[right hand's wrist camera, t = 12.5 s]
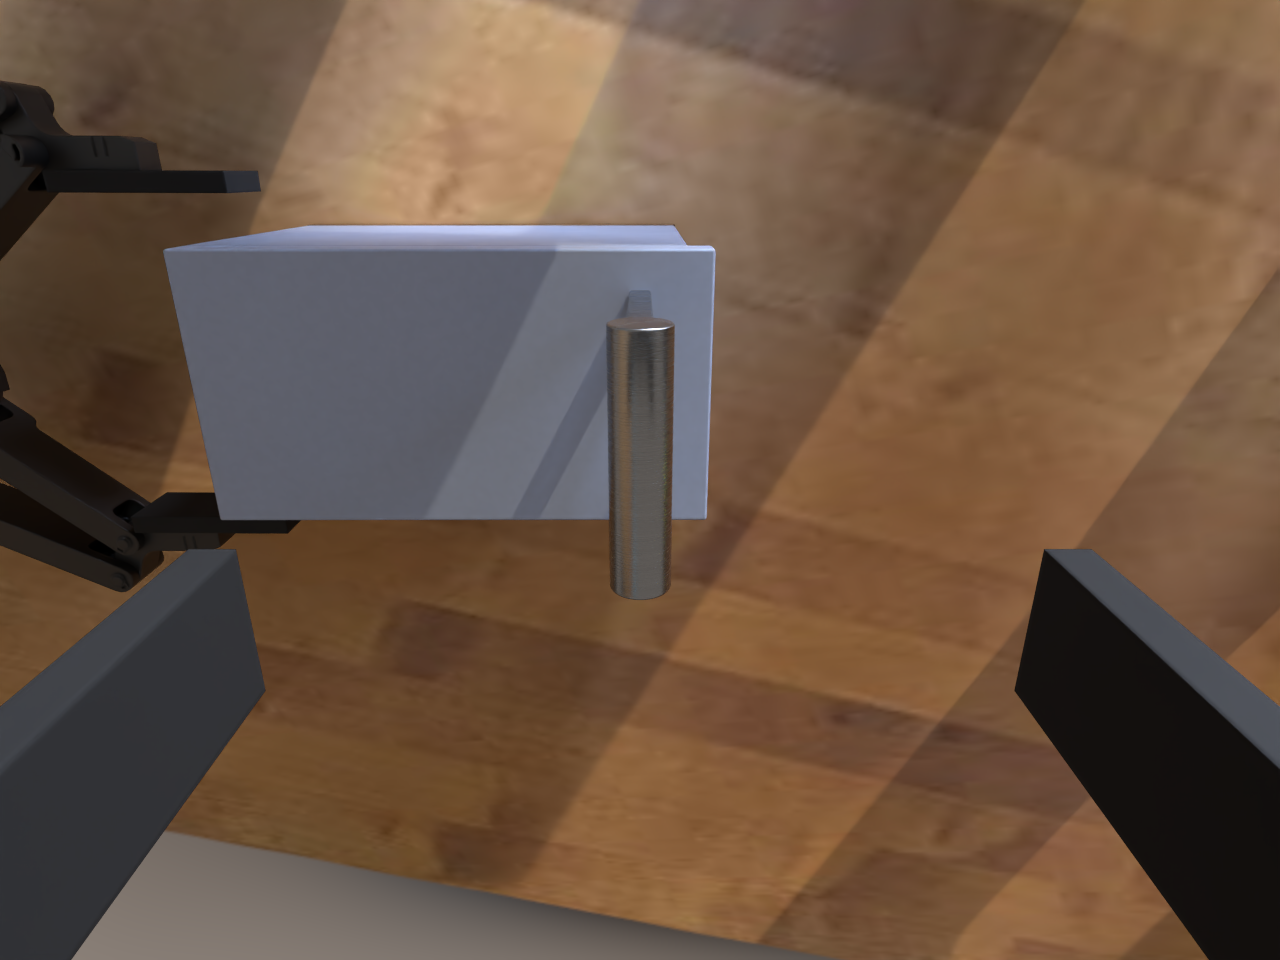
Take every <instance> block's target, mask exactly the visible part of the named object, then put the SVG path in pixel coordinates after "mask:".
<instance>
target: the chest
mask: <svg viewBox="0 0 1280 960" xmlns="http://www.w3.org/2000/svg"><path fill="white" fill-rule="evenodd" d="M187 246H687V245H686V243H685V242H684V240H683V239H682V237H681V235H680V234H679V232H678V231H677V229H676V228H675V225H674V224H312V225H307V226H303V227H297V228H290V229H284V230H278V231H272V232H266V233H260V234H253V235H247V236H241V237H235V238H229V239H222V240H216V241H210V242H204V243H198V244H192V245H187Z"/></svg>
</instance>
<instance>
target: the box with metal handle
mask: <svg viewBox="0 0 1280 960" xmlns="http://www.w3.org/2000/svg"><path fill="white" fill-rule="evenodd" d="M163 254H164V258H165V263H166V268H167V272H168V277H169V282H170V286H171V291H172V296H173V300H174V305H175V310H176V314H177V319H178V324H179V328H180V333H181V337H182V342H183V347H184V351H185V356H186V361H187V365H188V370H189V375H190V379H191V384H192V389H193V393H194V398H195V403H196V407H197V412H198V417H199V421H200V426H201V430H202V435H203V440H204V444H205V449H206V454H207V458H208V463H209V468H210V472H211V477H212V482H213V486H214V491H215V496H216V500H217V505H218V510H219V514H220V518H221V520H609V547H610V586H611V589H612V590H613V591H614V592H615V593H616V594H617V595H619V596H621V597H624V598H628V599H634V600H647V599H653V598H657V597H659V596H662V595H663V594H665V593H666V592H667V591H668V590H669V588H670V585H671V530H672V520H705V519H706V517H707V488H708V459H709V430H710V400H711V371H712V342H713V312H714V283H715V254H716V252H715V249H714V248H713V247H712V246H180V247H174V248H167V249H164V250H163Z"/></svg>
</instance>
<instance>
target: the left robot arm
mask: <svg viewBox="0 0 1280 960" xmlns="http://www.w3.org/2000/svg"><path fill="white" fill-rule="evenodd" d="M53 112H54V103H53V100H52V98H51V96H50V95H49V94H48V93H47V92H46V90H44V89H42V88H41V87H39V86H32V85H26V84H20V83H13V82H6V81H0V260H1V259H2V258H3V257H4V256H5V255H6V253H7V252H8V251H9V250H10V249H11V248H12V246H13V245H14V244H15V243H16V242H17V241H18V239H19V238H20V237H21V236H22V235H23V234H24V232H25V231H26V230H27V229H28V228H29V227H30V226H31V224H32V223H33V222H34V221H35V220H36V219H37V217H38V216H39V215H40V214H41V213H42V212H43V210H44V209H45V208H46V207H47V206H48V205H49V203H50V202H51V201H52V200H53V199H54V198H55V196H56V195H57V194H58V193H59V192H83V193H238V192H258V191H261V189H260V183H259V177H258V171H166V170H162V168H161V164H160V159H159V154H158V149H157V144H156V143H154V142H152V141H149V140H147V139H144V138H142V137H128V136H72V135H70V134H68V133H67V132H65V131H64V130H63V129H62V128H61V127H60V126H59V124H58V123H57V121H56V120H55V118H54V116H53ZM6 390H9V385H8V382H7V378H6V375H5V372H4V370H3V368H2V367H1V365H0V478H1V479H2V480H4V481H6V482H7V483H9V484H10V485H12V486H13V487H15V488H13V487H11V486H8V485H5V484H2V483H0V545H1V546H3V547H6V548H8V549H11V550H14V551H16V552H19V553H21V554H24V555H26V556H29V557H31V558H34V559H36V560H39V561H41V562H44V563H46V564H49V565H52V566H54V567H57V568H59V569H62V570H64V571H67V572H69V573H72V574H74V575H77V576H79V577H82V578H85V579H87V580H90V581H92V582H95V583H97V584H100V585H102V586H105V587H107V588H110V589H112V590H115V591H119V592H126V591H128V590H130V589H131V588H132V587H134V586H135V585H136V584H137V583H139V582H140V581H141V580H142V579H144V578H145V577H146V576H147V575H148V574H150V573H151V572H152V571H153V570H155V569H156V568H157V567H158V566H159V565H161V564H162V562H163V561H164V555H163V552H162V551H187V550H188V549H216V548H218V547H221V546H222V545H223V544H224V543H225V542H226V541H227V540H228V539H230V538H231V537H232V536H233V535H234V534H235V533H287V534H288V533H289V532H290V531H291V530H292V529H293V528H294V527H295V526H296V525H297V524H298V523H299V522H300V521H301V520H221V518H220V514H219V510H218V505H217V500H216V496H215V493H182V492H167V493H165V494H164V495H162V496H161V497H159V498H158V499H156V500H155V501H154V502H152V503H150V502H148V501H147V500H145V499H144V498H142V497H141V496H139V495H138V494H136V493H135V492H133V491H132V490H130V489H129V488H127V487H126V486H124V485H123V484H121V483H119V482H118V481H116V480H115V479H113V478H112V477H110V476H109V475H107V474H106V473H104V472H103V471H101V470H100V469H98V468H97V467H95V466H94V465H92V464H91V463H89V462H88V461H86V460H84V459H83V458H81V457H80V456H78V455H77V454H75V453H74V452H72V451H71V450H69V449H68V448H66V447H65V446H63V445H62V444H60V443H59V442H57V441H56V440H54V439H53V438H51V437H49V436H48V435H46V434H45V433H43V432H42V431H40V430H39V429H38V428H37V427H36V420H35V419H34V418H33V417H32V416H31V415H29V414H28V413H26V412H25V411H23V410H22V409H20V408H19V407H17V406H16V405H14V404H13V403H11V402H10V401H8V400H7V399H5V398H4V397H3V392H4V391H6ZM16 488H17V489H16Z"/></svg>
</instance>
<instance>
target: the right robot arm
mask: <svg viewBox="0 0 1280 960" xmlns="http://www.w3.org/2000/svg"><path fill="white" fill-rule="evenodd" d="M264 692H265V686H264V681H263V676H262V672H261V667H260V662H259V657H258V653H257V648H256V643H255V638H254V633H253V629H252V624H251V619H250V614H249V610H248V605H247V600H246V595H245V591H244V586H243V581H242V576H241V572H240V567H239V562H238V557H237V553H236V549H188V550H187V551H186V552H185V553H184V554H182V555H181V556H180V557H179V558H178V559H176V560H175V561H174V562H173V563H172V564H170V565H169V566H168V567H167V568H166V569H164V570H163V571H162V572H161V573H160V574H158V575H157V576H156V577H155V578H154V579H152V580H151V581H150V582H149V583H148V584H147V585H145V586H144V587H143V588H142V589H141V590H139V591H138V592H137V593H136V594H135V595H133V596H132V597H131V598H130V599H129V600H127V601H126V602H125V603H124V604H123V605H121V606H120V607H119V608H118V609H117V610H115V611H114V612H113V613H112V614H111V615H109V616H108V617H107V618H106V619H105V620H103V621H102V622H101V623H100V624H99V625H97V626H96V627H95V628H94V629H93V630H91V631H90V632H89V633H88V634H87V635H85V636H84V637H83V638H82V639H81V640H79V641H78V642H77V643H76V644H75V645H73V646H72V647H71V648H70V649H69V650H68V651H66V652H65V653H64V654H63V655H62V656H60V657H59V658H58V659H57V660H56V661H54V662H53V663H52V664H51V665H50V666H48V667H47V668H46V669H45V670H44V671H42V672H41V673H40V674H39V675H38V676H36V677H35V678H34V679H33V680H32V681H30V682H29V683H28V684H27V685H26V686H24V687H23V688H22V689H21V690H20V691H18V692H17V693H16V694H15V695H14V696H12V697H11V698H10V699H9V700H8V701H6V702H5V703H4V704H3V705H2V706H0V960H71V959H72V958H73V956H74V955H75V954H76V952H77V951H78V950H79V948H80V947H81V945H82V944H83V943H84V941H85V940H86V938H87V937H88V936H89V934H90V933H91V932H92V930H93V929H94V927H95V926H96V925H97V923H98V922H99V920H100V919H101V918H102V916H103V915H104V914H105V912H106V911H107V909H108V908H109V907H110V905H111V904H112V902H113V901H114V900H115V898H116V897H117V896H118V894H119V893H120V891H121V890H122V889H123V887H124V886H125V884H126V883H127V882H128V880H129V879H130V877H131V876H132V875H133V873H134V872H135V871H136V869H137V868H138V866H139V865H140V864H141V862H142V861H143V860H144V858H145V857H146V855H147V854H148V853H149V851H150V850H151V848H152V847H153V846H154V844H155V843H156V842H157V840H158V839H159V837H160V836H161V835H162V833H163V832H164V830H165V829H166V828H167V826H168V825H169V824H170V822H171V821H172V819H173V818H174V817H175V815H176V814H177V812H178V811H179V810H180V808H181V807H182V806H183V804H184V803H185V801H186V800H187V799H188V797H189V796H190V794H191V793H192V792H193V790H194V789H195V788H196V786H197V785H198V783H199V782H200V781H201V779H202V778H203V776H204V775H205V774H206V772H207V771H208V770H209V768H210V767H211V765H212V764H213V763H214V761H215V760H216V758H217V757H218V756H219V754H220V753H221V752H222V750H223V749H224V747H225V746H226V745H227V743H228V742H229V741H230V739H231V738H232V736H233V735H234V734H235V732H236V731H237V729H238V728H239V727H240V725H241V724H242V723H243V721H244V720H245V718H246V717H247V716H248V714H249V713H250V711H251V710H252V709H253V707H254V706H255V705H256V703H257V702H258V700H259V699H260V698H261V696H262V695H263V693H264ZM1015 692H1016V693H1017V695H1018V696H1019V698H1020V699H1021V700H1022V702H1023V703H1024V705H1025V706H1026V707H1027V709H1028V710H1029V711H1030V713H1031V714H1032V716H1033V717H1034V718H1035V720H1036V721H1037V723H1038V724H1039V725H1040V727H1041V728H1042V729H1043V731H1044V732H1045V734H1046V735H1047V736H1048V738H1049V739H1050V741H1051V742H1052V743H1053V745H1054V746H1055V747H1056V749H1057V750H1058V752H1059V753H1060V754H1061V756H1062V757H1063V759H1064V760H1065V761H1066V763H1067V764H1068V765H1069V767H1070V768H1071V770H1072V771H1073V772H1074V774H1075V775H1076V776H1077V778H1078V779H1079V781H1080V782H1081V783H1082V785H1083V786H1084V788H1085V789H1086V790H1087V792H1088V793H1089V794H1090V796H1091V797H1092V799H1093V800H1094V801H1095V803H1096V804H1097V806H1098V807H1099V808H1100V810H1101V811H1102V812H1103V814H1104V815H1105V817H1106V818H1107V819H1108V821H1109V822H1110V824H1111V825H1112V826H1113V828H1114V829H1115V830H1116V832H1117V833H1118V835H1119V836H1120V837H1121V839H1122V840H1123V842H1124V843H1125V844H1126V846H1127V847H1128V848H1129V850H1130V851H1131V853H1132V854H1133V855H1134V857H1135V858H1136V860H1137V861H1138V862H1139V864H1140V865H1141V866H1142V868H1143V869H1144V871H1145V872H1146V873H1147V875H1148V876H1149V878H1150V879H1151V880H1152V882H1153V883H1154V884H1155V886H1156V887H1157V889H1158V890H1159V891H1160V893H1161V894H1162V896H1163V897H1164V898H1165V900H1166V901H1167V902H1168V904H1169V905H1170V907H1171V908H1172V909H1173V911H1174V912H1175V914H1176V915H1177V916H1178V918H1179V919H1180V920H1181V922H1182V923H1183V925H1184V926H1185V927H1186V929H1187V930H1188V932H1189V933H1190V934H1191V936H1192V937H1193V938H1194V940H1195V941H1196V943H1197V944H1198V945H1199V947H1200V948H1201V950H1202V951H1203V952H1204V954H1205V955H1206V956H1207V958H1208V959H1209V960H1280V706H1278V705H1277V704H1276V703H1275V702H1274V701H1272V700H1271V699H1270V698H1269V697H1268V696H1266V695H1265V694H1264V693H1263V692H1262V691H1260V690H1259V689H1258V688H1257V687H1256V686H1254V685H1253V684H1252V683H1251V682H1250V681H1248V680H1247V679H1246V678H1245V677H1244V676H1242V675H1241V674H1240V673H1239V672H1238V671H1236V670H1235V669H1234V668H1233V667H1232V666H1230V665H1229V664H1228V663H1227V662H1226V661H1224V660H1223V659H1222V658H1221V657H1220V656H1218V655H1217V654H1216V653H1215V652H1214V651H1212V650H1211V649H1210V648H1209V647H1208V646H1207V645H1205V644H1204V643H1203V642H1202V641H1201V640H1199V639H1198V638H1197V637H1196V636H1195V635H1193V634H1192V633H1191V632H1190V631H1189V630H1187V629H1186V628H1185V627H1184V626H1183V625H1181V624H1180V623H1179V622H1178V621H1177V620H1175V619H1174V618H1173V617H1172V616H1171V615H1169V614H1168V613H1167V612H1166V611H1165V610H1163V609H1162V608H1161V607H1160V606H1159V605H1157V604H1156V603H1155V602H1154V601H1153V600H1151V599H1150V598H1149V597H1148V596H1147V595H1145V594H1144V593H1143V592H1142V591H1141V590H1139V589H1138V588H1137V587H1136V586H1135V585H1133V584H1132V583H1131V582H1130V581H1129V580H1128V579H1126V578H1125V577H1124V576H1123V575H1122V574H1120V573H1119V572H1118V571H1117V570H1116V569H1114V568H1113V567H1112V566H1111V565H1110V564H1108V563H1107V562H1106V561H1105V560H1104V559H1102V558H1101V557H1100V556H1099V555H1098V554H1096V553H1095V552H1094V551H1093V550H1092V549H1044V553H1043V557H1042V562H1041V567H1040V572H1039V576H1038V581H1037V586H1036V591H1035V595H1034V600H1033V605H1032V610H1031V614H1030V619H1029V624H1028V629H1027V633H1026V638H1025V643H1024V648H1023V652H1022V657H1021V662H1020V667H1019V672H1018V676H1017V681H1016V686H1015Z"/></svg>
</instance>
